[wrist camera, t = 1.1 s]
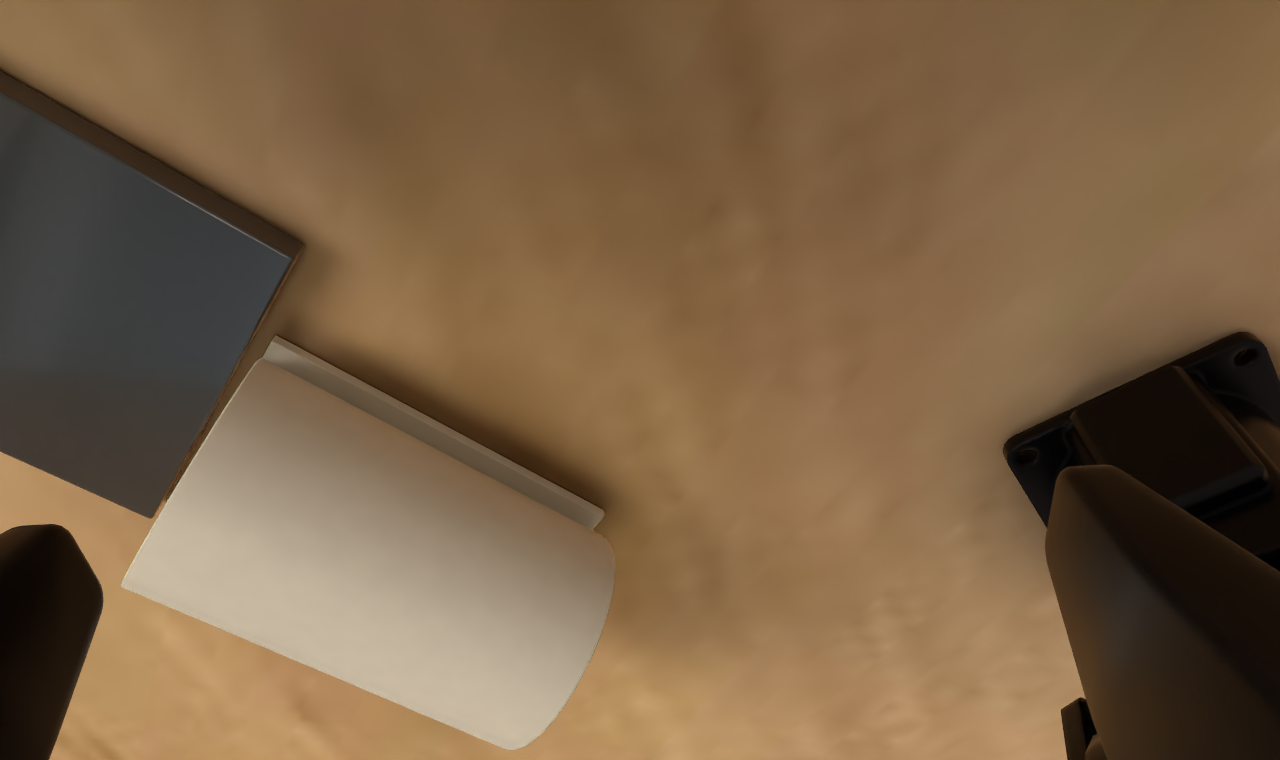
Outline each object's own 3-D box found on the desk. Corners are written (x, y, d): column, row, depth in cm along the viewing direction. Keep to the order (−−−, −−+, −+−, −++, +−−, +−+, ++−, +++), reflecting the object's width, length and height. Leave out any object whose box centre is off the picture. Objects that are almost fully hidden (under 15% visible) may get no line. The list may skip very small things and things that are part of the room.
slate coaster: (305, 244, 22) (294, 259, 21) (163, 501, 27) (150, 520, 26) (-48, 42, 20) (-73, 52, 19) (-136, 365, 24) (-159, 382, 24)
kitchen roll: (621, 492, 26) (610, 670, 21) (511, 611, 29) (479, 793, 24) (288, 311, 23) (182, 469, 18) (201, 464, 26) (90, 637, 21)
